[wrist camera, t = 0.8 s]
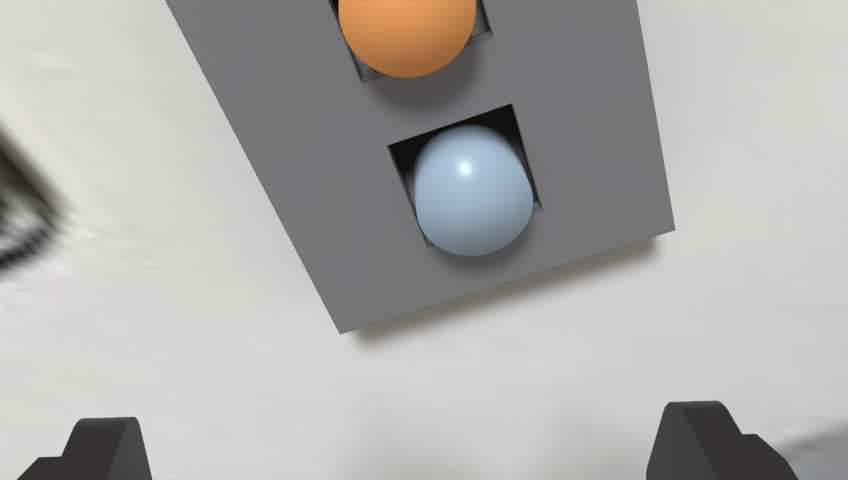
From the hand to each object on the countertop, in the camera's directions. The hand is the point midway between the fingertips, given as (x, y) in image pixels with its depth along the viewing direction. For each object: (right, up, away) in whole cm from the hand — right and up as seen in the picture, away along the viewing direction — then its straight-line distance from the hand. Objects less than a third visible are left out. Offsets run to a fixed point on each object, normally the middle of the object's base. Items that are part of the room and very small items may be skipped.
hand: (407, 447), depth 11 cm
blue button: (+2, +6, +16) cm, 17 cm away
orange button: (0, +11, +12) cm, 16 cm away
